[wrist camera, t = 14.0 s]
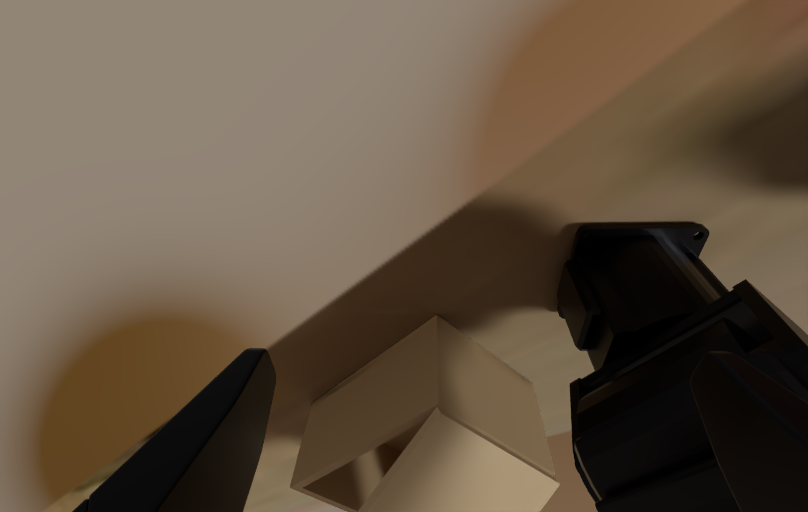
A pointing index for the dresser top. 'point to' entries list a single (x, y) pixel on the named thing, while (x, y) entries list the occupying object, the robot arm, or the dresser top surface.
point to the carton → (413, 412)
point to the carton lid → (459, 474)
